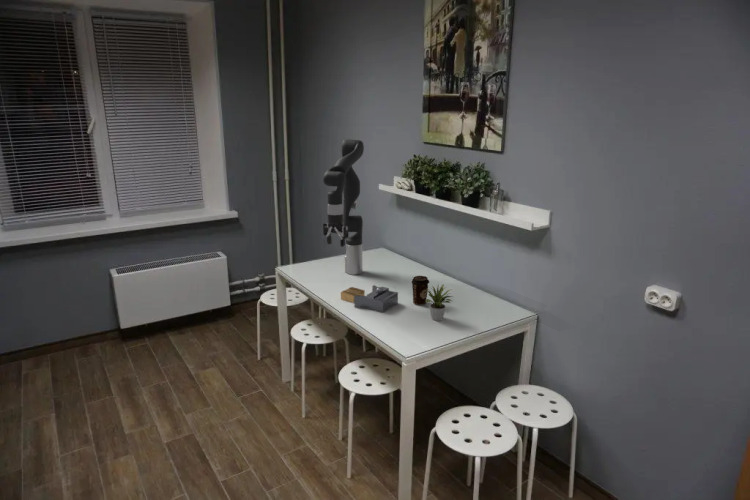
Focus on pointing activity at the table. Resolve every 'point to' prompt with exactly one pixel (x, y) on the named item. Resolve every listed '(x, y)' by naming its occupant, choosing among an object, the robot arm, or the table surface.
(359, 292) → the block
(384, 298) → the coupler dock
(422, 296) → the coffee cup
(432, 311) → the house plant
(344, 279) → the table surface
